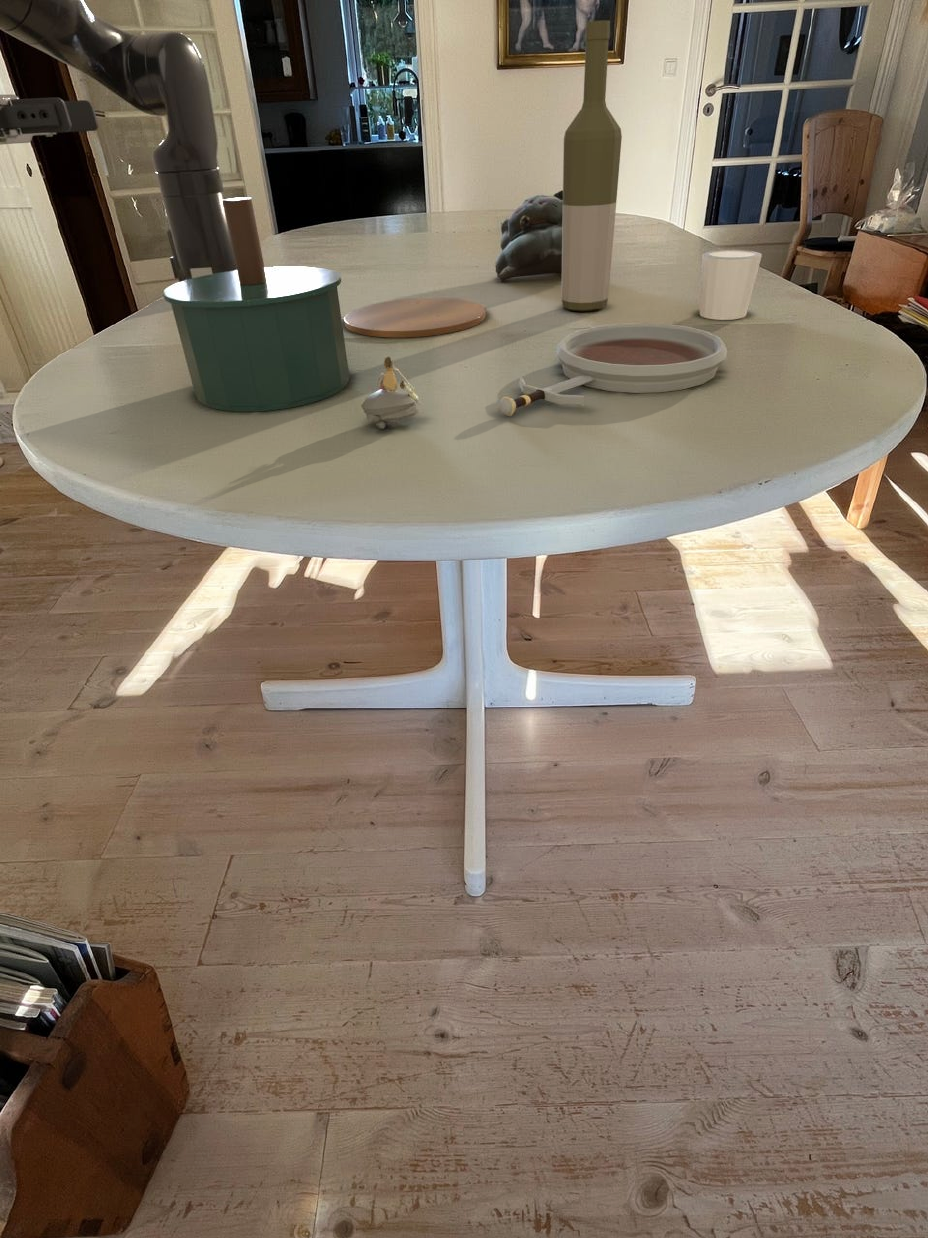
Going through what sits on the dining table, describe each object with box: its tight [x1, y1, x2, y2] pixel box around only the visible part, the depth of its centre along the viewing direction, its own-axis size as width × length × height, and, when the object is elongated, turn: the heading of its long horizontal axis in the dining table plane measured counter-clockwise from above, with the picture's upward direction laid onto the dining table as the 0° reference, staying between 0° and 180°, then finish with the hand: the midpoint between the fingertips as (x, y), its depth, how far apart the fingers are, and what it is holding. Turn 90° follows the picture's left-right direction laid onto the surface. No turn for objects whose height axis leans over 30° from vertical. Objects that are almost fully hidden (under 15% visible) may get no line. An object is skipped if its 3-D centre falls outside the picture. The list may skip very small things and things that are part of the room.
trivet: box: [343, 297, 487, 339], centre depth 96 cm, size 19×19×1 cm
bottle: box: [561, 20, 623, 312], centre depth 88 cm, size 7×7×30 cm
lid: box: [162, 196, 342, 308], centre depth 67 cm, size 17×17×8 cm
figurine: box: [360, 356, 422, 430], centre depth 62 cm, size 5×4×6 cm
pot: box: [170, 286, 350, 413], centre depth 72 cm, size 16×16×10 cm
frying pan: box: [498, 322, 729, 417], centre depth 70 cm, size 17×3×28 cm
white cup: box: [699, 249, 763, 321], centre depth 88 cm, size 7×7×7 cm
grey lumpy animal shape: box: [494, 189, 563, 282], centre depth 113 cm, size 15×12×14 cm
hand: (82, 114), depth 59 cm, fingers open, 8 cm apart
